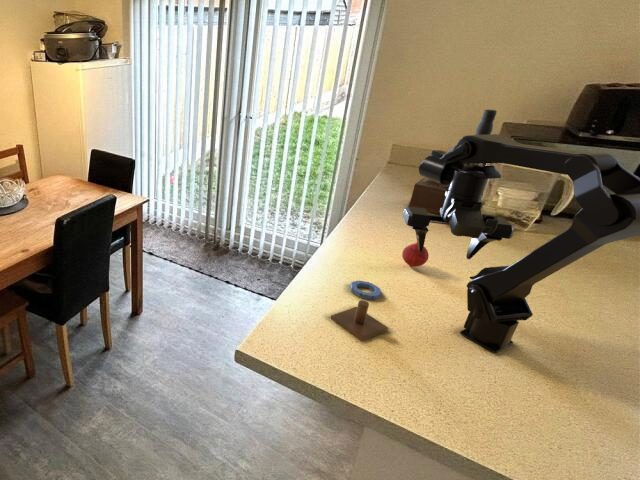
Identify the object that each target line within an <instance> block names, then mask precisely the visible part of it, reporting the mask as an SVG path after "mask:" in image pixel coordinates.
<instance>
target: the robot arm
mask: <svg viewBox="0 0 640 480" xmlns="http://www.w3.org/2000/svg"><path fill="white" fill-rule="evenodd" d="M465 163H490V164H504V165H510V166H516V167H521V168H527V169H531V170H537V171H543V172H548V173H553V174H559V175H565V176H568V178H569V179H570V181H572V188H573V194H574V199H575V201H577V203H578V205H579V206H580V207H581V208H580V210H579V211H578V212H577V213H575V215H574V217H573V220H572V222H571V225H570V226H569V227H568V228H567V229H565V230H564V231H562V232H560V233H559V234H557V235H555V236H554V237H553V238H551V239H549V240H548V241H547V242H545V243H543V244H542V245H540V246H539V247H537V248H536V249H534V250H532V251H531V252H529V253H528V254H526V255H524V256H523V257H521V258H520V259H518V260H517V261H515V262H514V263H512V264H510V265H501V266H500V265H499V266H489V267H483V268H482V269H480V270H479V271H478V273H477V274H475V275H472V276H469V279H470V280H469V282H467V284H466V288H467V290H466V294H467V295H466V301H467V302H466V303H467V306H466V307H467V312H469V313H468V314H467V316H466V320H465V322H464V324H463V328H464V329H462V330H460V332H459V333H460V335H462V336H463V337H465V338H467V339H469V340H470V341H472V342H474V343H475V344H477V345H479V346H481V347H483V348H484V349H486V350H488V351H490V352H492V353H493V354H496V353H499V352H501V351H503V350H505V349H507V348H509V347H511V346H513V345H514V341H513V340H512V338H513V336H514V334H515V332H516V330H517V328H518V325H519V324H520V322H519V321H527V320H529V319H530V318H531V317H533V315H534V314H533V312H532V309H531V307H530V304H529V303H528V301H527V299H526V298H527V297H528V296H529V295H530V294H531V291H532V289H533V286H534V285H535V284H537V283H539V282H540V281H543V280H544V279H546V278H548V277H549V276H551V275H553V274H555V273H557V272H558V271H560V270H562V269H564V268H566V267H568V266H569V265H571V264H572V263H574V262H576V261H577V260H580V259H581V258H583V257H585V256H587V255H589V254H591V253H592V252H594V251H596V250H597V249H600V248H601V247H603V246H605V245H607V244H611V243H614V242H618V241H621V240H624V239H628V238H632V237H637V236H639V235H640V177H639V176H637V175H635V174H634V173H632V172H631V171H630V170H628V169H627V168H625V167H624V166H623V164H621V162H620V161H619V160H618V159H617V158H616V157H615V156H613V155H611V154H610V153H606V152H589V151H580V150H573V149H566V148H565V149H564V148H557V147H549V146H543V145H542V146H541V145H540V146H539V145H534V144H525V143H521V142H518V141H516V140H515V139H513V138H511V137H508V136H505V135H501V134H498V133H491V134H488V135H475V134H471V135H470V134H469V135H468V134H467V135H464V136H462V137H461V138H460V139H459V140H458V142H457V143H456V145H455V146H453V147H452V148H451V149H450V150H449V151H447V152H446V151H445V150H441V149H434V150H432V151H431V153H430V155H428V156H426V157H425V158H424V159H423V160H422V162H421V163H420V164H419V166H418V173H419V175H420V176H421V177H423V178H425V179H430V180H433V181H435V182H438V183H441V184H443V185H449V184H450V186H449V189H448V191H446V193H445V196H446V199H445V202H444V205H443V208H440V211H439V212H440V213H441V214H440V215H438V214H433V213H429V212H427V211H426V209H425V208H416V207H409V206H406V207H405V208H404V209H403V211H402V215H401V217H402V219H403V221H404V222H405V224H406V226H409V227H411V229H412V230H414V231H415V237H416V242H417V244H418V250H419V252H422V250H423V247H425V242H426V236H427V233H429V228H428V226H430V223H431V224H438V225H446V226H449V228H450V233H451V235H453V236H455V237H468V238H470V239H471V240H470V243H469V245H468V248H467V251H466V256H465V257H466V259H467V260H471V259H473V257H474V256H475V255H476V254H477V253H479V252H480V250H482V249H483V248H484V247H485V246H486V245H488V244H489V243H492V242H496V241H499V242H501V241H503V239H507V240H509V239H512V238H513V235H514V232H515V228H514V226H513V225H512V224H511V223H510V222H509V221H508V220H506V218H504V217H503V216H497V215H491V214H490V215H489V214H486V213H482V209H481V207H482V208H483V206H482V202H481V201H480V200H482V196H483V194H484V191H485V189H486V186H487V183H488V180H492V179H501V178H502V175H501V173H500V172H499V171H498V170H497V169H496V166H495V165H490V166H484V167H482V166H479V165H476V164H470V165H465ZM604 187H605V188H606V189H608V190H609V191H611V192H612V193H610V194H609V193H608V192H607V190H606V189H605V188H604Z"/></svg>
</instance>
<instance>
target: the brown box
mask: <svg viewBox="0 0 640 480" xmlns="http://www.w3.org/2000/svg"><path fill="white" fill-rule="evenodd" d="M465 165H467V163H465ZM449 186H450V184H449V185H443V184H441V183H438V182H435V181H433V180H430V179H428V178H425V177H423V178H421V179H420V180H418V181H417V182H416V183H415V184H414V186H413V190H412V194H411V197H410V201H409V204H408V207H416V208H425V209H426V211H427V212H428V213H429V214H434V215H440V214H441V213H440V212H439V211H440V208H443V205H444V202H445V199H446V196H445V193H446V191H448V189H449Z"/></svg>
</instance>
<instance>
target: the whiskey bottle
mask: <svg viewBox="0 0 640 480" xmlns="http://www.w3.org/2000/svg"><path fill="white" fill-rule="evenodd" d="M497 112H498V111H497V110H496V109H485V110H484V111H483V114H482V116H481V119H480V122H479V123H478V125H477V127H476V129H475V134H474V135H488V134H492V132H493V127H494V120H495V119H496V116H497ZM470 164H476V165H479V166H482V167H484V166H485V165H486V163H467V165H470Z"/></svg>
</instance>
